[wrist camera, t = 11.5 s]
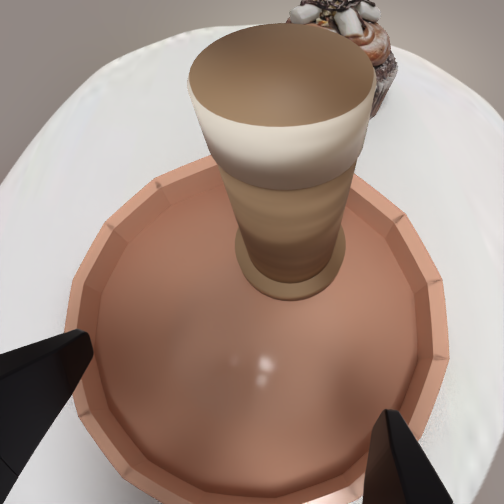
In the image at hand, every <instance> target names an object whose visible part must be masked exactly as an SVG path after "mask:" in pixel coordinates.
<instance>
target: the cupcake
mask: <svg viewBox="0 0 504 504" xmlns="http://www.w3.org/2000/svg"><path fill="white" fill-rule="evenodd" d="M289 13H290V17H289V18H288V20H287V21H286V23H292V24H303V25H310V26H315V27H320V28H323V29H327V30H330V31H332V32H335V33H338V34H340V35H342V36H344V37H346V38H348V39H349V40H351V41H352V42H354V43H355V44H357V45H358V46H359V47H360V48H361V49H362V50H363V51H364V52H365V53H366V54H367V56H368V57H369V59H370V61H371V63H372V65H373V67H374V69H375V73H376V81H377V83H376V88H375V93H374V98H373V103H372V108H371V113H370V118H369V120H370V119H371V118H373V117H374V116H375V115H376V113H377V111H378V109H379V107H380V105H381V103H382V101H383V99H384V97H385V95H386V93H387V91H388V90H389V87H390V86H391V84H392V82H393V80H394V78H395V76H396V74H397V71H398V69H397V68H398V66H397V62H395V59H396V58H394V55H393V53H392V52H391V50H390V49H391V46H390V41H389V36H388V34H387V32H386V31H385V30H384V29H383V28H382V27H381V26H380V25H379V24H378V23H376V22H377V21H378V20H379V18H380V17H381V11H380V10H379V9H378V8H377V7H376V6H375V3H373V2H370V1H369V0H352V1H349V2H348V0H302V1H301V4H300V5H298V6H297V7H295V8H293V9H292V10H291V11H290V12H289Z"/></svg>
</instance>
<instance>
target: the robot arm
mask: <svg viewBox="0 0 504 504" xmlns="http://www.w3.org/2000/svg"><path fill="white" fill-rule="evenodd" d="M93 356H94V350H93V346H92V342H91V339H90V335H89V333H88V332H86V331H84V330H81V329H74V330H71V331H68V332H66V333H63V334H60V335H57V336H54V337H51V338H48V339H45V340H42V341H39V342H36V343H33V344H30V345H27V346H24V347H21V348H18V349H15V350H12V351H9V352H6V353H3V354H0V504H3V503H4V501H5V499H6V497H7V496H8V494H9V492H10V491H11V489H12V487H13V485H14V484H15V482H16V480H17V479H18V476H19V475H20V473H21V472H22V470H23V469H24V467H25V465H26V464H27V462H28V461H29V459H30V457H31V456H32V454H33V453H34V451H35V449H36V448H37V446H38V445H39V443H40V442H41V440H42V439H43V437H44V435H45V434H46V432H47V431H48V429H49V428H50V426H51V425H52V423H53V422H54V420H55V419H56V417H57V416H58V414H59V413H60V411H61V410H62V408H63V407H64V406H65V404H66V403H67V401H68V400H69V398H70V397H71V395H72V394H73V392H74V390H75V389H76V387H77V385H78V383H79V382H80V380H81V378H82V376H83V374H84V373H85V371H86V369H87V367H88V365H89V364H90V362H91V360H92V358H93ZM362 504H453V500H452V499H451V497H450V495H449V493H448V492H447V490H446V488H445V486H444V485H443V483H442V481H441V480H440V478H439V476H438V475H437V473H436V471H435V469H434V468H433V466H432V464H431V463H430V461H429V459H428V458H427V456H426V454H425V453H424V451H423V449H422V448H421V446H420V444H419V443H418V441H417V440H416V438H415V436H414V435H413V433H412V431H411V430H410V428H409V427H408V425H407V423H406V422H405V420H404V419H403V417H402V415H401V414H400V412H399V411H398V410H394V409H384V410H383V411H382V412H381V414H380V416H379V417H378V419H377V421H376V423H375V424H374V426H373V429H372V432H371V439H370V446H369V453H368V459H367V465H366V471H365V478H364V489H363V503H362Z"/></svg>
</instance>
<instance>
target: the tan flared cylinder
mask: <svg viewBox="0 0 504 504" xmlns="http://www.w3.org/2000/svg"><path fill="white" fill-rule="evenodd" d="M376 83H377V81H376V73H375V69H374V67H373V65H372V63H371V61H370V59H369V57H368V56H367V54H366V53H365V52H364V51H363V50H362V49H361V48H360V47H359V46H358V45H357V44H355V43H354V42H352V41H351V40H349V39H348V38H346V37H344V36H342V35H340V34H338V33H335V32H332V31H330V30H327V29H323V28H320V27H315V26H310V25H303V24H292V23H277V24H266V25H259V26H254V27H249V28H245V29H242V30H239V31H236V32H233V33H231V34H228V35H226V36H224V37H222V38H220V39H218V40H216V41H215V42H213V43H212V44H210V45H209V46H208V47H206V48H205V49H204V50H203V51H202V52H201V53H200V54H199V55H198V56H197V58H196V59H195V60H194V62H193V64H192V66H191V68H190V73H189V76H188V80H187V88H188V92H189V95H190V98H191V101H192V104H193V107H194V109H195V112H196V115H197V118H198V121H199V124H200V126H201V129H202V132H203V135H204V138H205V140H206V143H207V146H208V149H209V151H210V153H211V155H212V157H213V159H214V160H215V162H216V163H217V165H218V168H219V171H220V174H221V177H222V180H223V183H224V186H225V189H226V191H227V194H228V197H229V200H230V203H231V206H232V209H233V212H234V215H235V217H236V220H237V223H238V226H239V227H238V230H237V233H236V238H235V253H236V258H237V261H238V263H239V266H240V268H241V270H242V272H243V274H244V276H245V278H246V279H247V281H248V282H249V283H250V284H251V285H252V286H253V287H254V288H255V289H256V290H257V291H259V292H260V293H262V294H264V295H266V296H267V297H270V298H273V299H276V300H281V301H300V300H305V299H308V298H311V297H313V296H315V295H317V294H319V293H320V292H322V291H324V290H325V289H326V288H327V287H328V286H329V285H330V284H331V283H332V282H333V280H334V279H335V277H336V276H337V274H338V272H339V270H340V267H341V265H342V262H343V259H344V256H345V250H346V240H345V234H344V231H343V228H342V225H341V221H342V218H343V214H344V210H345V206H346V202H347V199H348V195H349V191H350V187H351V183H352V179H353V174H354V170H355V166H356V162H357V158H358V157H359V155H360V153H361V151H362V148H363V145H364V140H365V136H366V132H367V127H368V122H369V118H370V113H371V108H372V103H373V98H374V93H375V88H376Z"/></svg>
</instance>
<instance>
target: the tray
mask: <svg viewBox="0 0 504 504" xmlns="http://www.w3.org/2000/svg"><path fill="white" fill-rule="evenodd" d="M341 225H342V228H343V231H344V234H345V240H346V250H345V256H344V259H343V262H342V265H341V267H340V270H339V272H338V274H337V276H336V277H335V279H334V280H333V282H332V283H331V284H330V285H329V286H328V287H327V288H326V289H325V290H324V291H322V292H320V293H319V294H317V295H315V296H313V297H311V298H308V299H305V300H300V301H281V300H276V299H273V298H270V297H267V296H266V295H264V294H262V293H260V292H259V291H257V290H256V289H255V288H254V287H253V286H252V285H251V284H250V283H249V282H248V281H247V279H246V278H245V276H244V274H243V272H242V270H241V268H240V266H239V263H238V261H237V258H236V253H235V238H236V233H237V230H238V227H239V226H238V223H237V220H236V217H235V215H234V212H233V209H232V206H231V203H230V200H229V197H228V194H227V191H226V189H225V186H224V183H223V180H222V177H221V174H220V171H219V168H218V165H217V163H216V162H215V160H214V159H213V157H212V155H209V156H207V157H204V158H202V159H199V160H197V161H194V162H192V163H189V164H187V165H184V166H182V167H179V168H177V169H175V170H172V171H170V172H168V173H165V174H163V175H161V176H158V177H156V178H154V179H153V180H152V181H151V182H149V183H148V184H147V185H146V186H145V187H144V188H142V189H141V190H140V191H139V192H138V193H137V194H135V195H134V196H133V197H132V198H131V199H130V200H129V201H127V202H126V203H125V204H124V205H123V206H122V207H121V208H120V209H118V210H117V211H116V212H115V213H114V214H113V215H112V216H111V217H110V218H109V219H108V220H107V221H105V223H104V224H103V226H102V228H101V229H100V231H99V233H98V234H97V236H96V238H95V240H94V241H93V243H92V245H91V247H90V249H89V250H88V252H87V254H86V256H85V258H84V259H83V261H82V263H81V265H80V267H79V269H78V271H77V273H76V275H75V276H74V278H73V281H72V286H71V291H70V297H69V303H68V309H67V316H66V323H65V330H64V333H66V332H68V331H71V330H74V329H81V330H84V331H86V332H88V333H89V335H90V339H91V342H92V346H93V350H94V356H93V358H92V360H91V362H90V364H89V365H88V367H87V369H86V371H85V373H84V374H83V376H82V378H81V380H80V382H79V383H78V385H77V387H76V389H75V390H74V392H73V394H72V395H73V398H74V402H75V406H76V410H77V413H78V417H79V418H80V420H81V421H82V423H83V425H84V426H85V428H86V429H87V431H88V432H89V434H90V435H91V436H92V438H93V439H94V441H95V442H96V444H97V445H98V446H99V448H100V449H101V451H102V452H103V453H104V455H105V456H106V457H107V459H108V460H109V461H110V463H111V464H112V465H113V467H114V468H115V469H116V470H117V472H118V473H119V474H120V475H121V477H122V478H123V479H125V480H126V481H128V482H129V483H131V484H132V485H134V486H135V487H137V488H138V489H140V490H142V491H143V492H145V493H146V494H148V495H150V496H151V497H153V498H155V499H156V500H158V501H160V502H162V503H163V504H348V503H350V502H353V501H355V500H357V499H359V498H360V497H361V496H363V489H364V478H365V471H366V465H367V459H368V453H369V446H370V439H371V432H372V429H373V426H374V424H375V423H376V421H377V419H378V417H379V416H380V414H381V412H382V411H383V410H384V409H394V410H398V411H399V412H400V414H401V415H402V417H403V419H404V420H405V422H406V423H407V425H408V427H409V428H410V430H411V431H412V433H413V435H414V436H415V438H416V440H417V441H418V440H419V439H420V438H421V436H422V434H423V431H424V429H425V427H426V424H427V422H428V419H429V417H430V414H431V412H432V409H433V406H434V404H435V401H436V398H437V396H438V393H439V390H440V387H441V384H442V381H443V378H444V375H445V372H446V368H447V365H448V362H449V340H448V326H447V315H446V305H445V296H444V288H443V281H442V278H441V276H440V274H439V272H438V270H437V268H436V266H435V264H434V263H433V261H432V259H431V257H430V255H429V253H428V251H427V250H426V248H425V246H424V244H423V242H422V241H421V239H420V237H419V235H418V234H417V232H416V230H415V229H414V227H413V225H412V224H411V222H410V220H409V219H408V217H407V215H406V214H405V213H404V212H403V211H402V210H400V209H399V208H398V207H397V206H395V205H394V204H393V203H392V202H391V201H389V200H388V199H387V198H386V197H384V196H383V195H382V194H381V193H379V192H378V191H377V190H375V189H374V188H373V187H372V186H370V185H369V184H368V183H366V182H365V181H364V180H362V179H361V178H360V177H358V176H357V175H356V174H353V179H352V183H351V187H350V191H349V195H348V199H347V202H346V206H345V210H344V214H343V218H342V221H341Z"/></svg>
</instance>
